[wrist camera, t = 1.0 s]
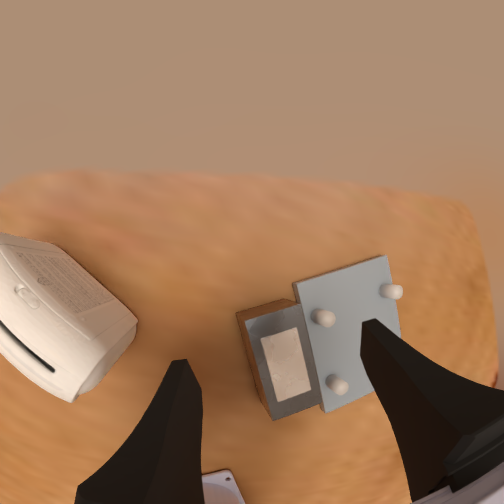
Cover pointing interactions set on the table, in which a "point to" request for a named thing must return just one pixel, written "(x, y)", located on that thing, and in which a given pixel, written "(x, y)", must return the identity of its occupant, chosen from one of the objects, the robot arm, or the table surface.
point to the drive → (280, 357)
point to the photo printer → (58, 318)
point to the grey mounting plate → (346, 324)
